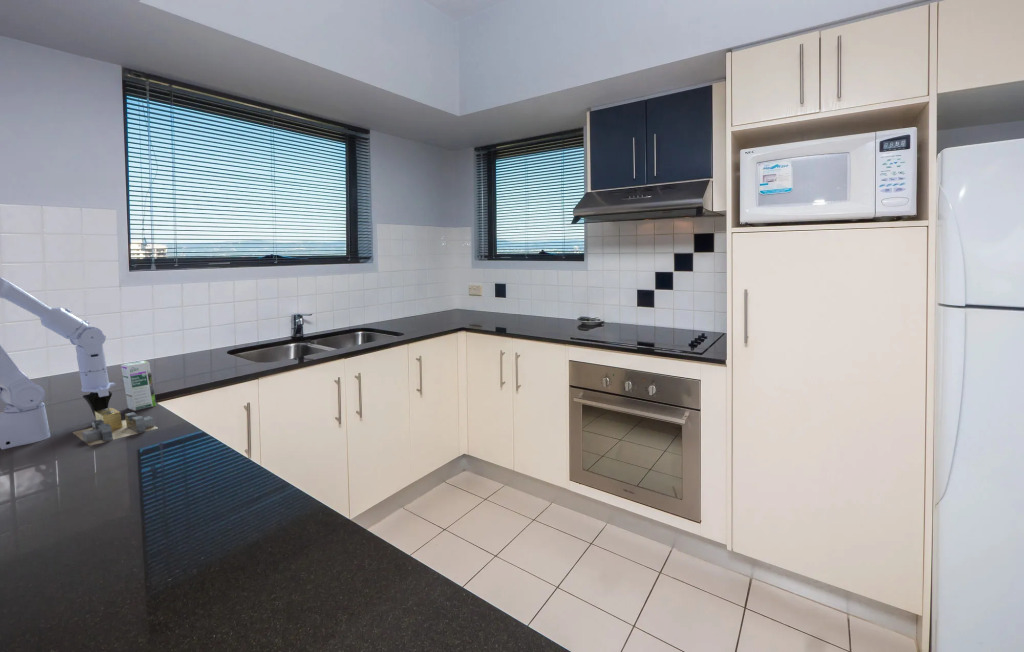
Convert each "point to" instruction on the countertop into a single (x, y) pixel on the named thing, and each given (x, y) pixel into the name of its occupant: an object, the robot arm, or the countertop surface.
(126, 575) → the countertop surface
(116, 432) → the board
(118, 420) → the link
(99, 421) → the chain ends
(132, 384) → the syrup box
